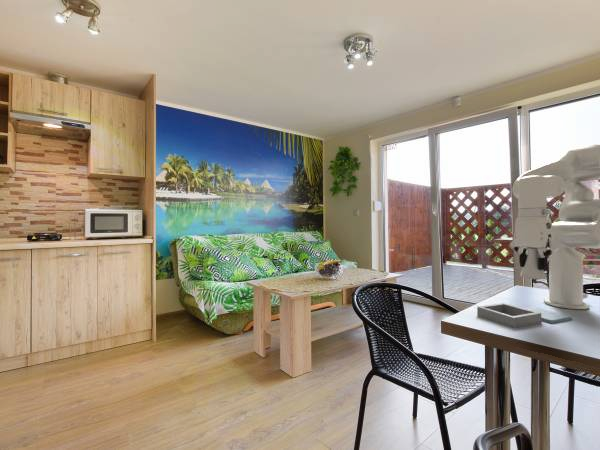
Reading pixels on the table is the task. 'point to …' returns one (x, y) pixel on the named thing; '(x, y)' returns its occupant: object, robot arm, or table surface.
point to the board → (551, 316)
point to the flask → (532, 266)
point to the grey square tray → (519, 318)
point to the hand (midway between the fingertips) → (533, 267)
